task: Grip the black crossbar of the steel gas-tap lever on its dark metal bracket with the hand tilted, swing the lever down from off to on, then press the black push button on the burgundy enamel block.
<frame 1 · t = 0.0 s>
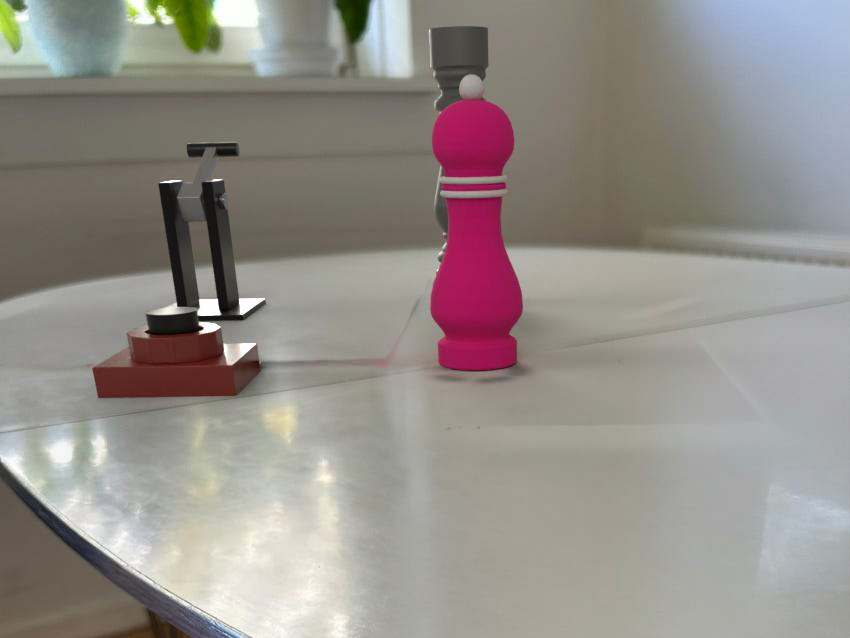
igniter block: (182, 384, 75), on the table
tap lever: (203, 177, 97), point 13 cm above the table, hinge at 25.0°
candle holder: (466, 305, 106), on the table
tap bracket: (211, 322, 99), on the table
pepper mill: (477, 365, 79), on the table
black push button: (173, 323, 73), point 4 cm above the table, slide at 0.1 cm
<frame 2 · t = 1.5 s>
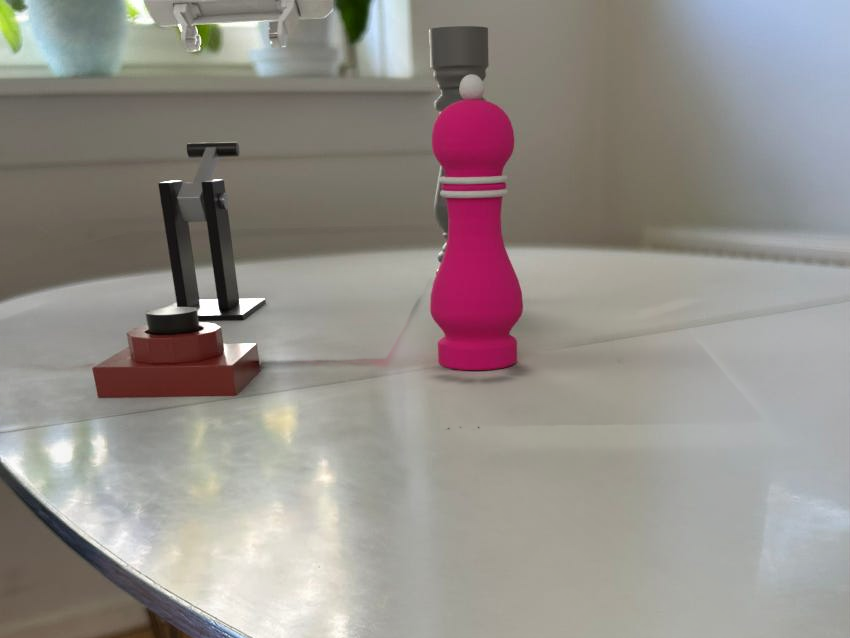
hand: (233, 44, 105), 25 cm above the table, tool tilted 45°, fingers open, 8 cm apart
nothing on the table moved.
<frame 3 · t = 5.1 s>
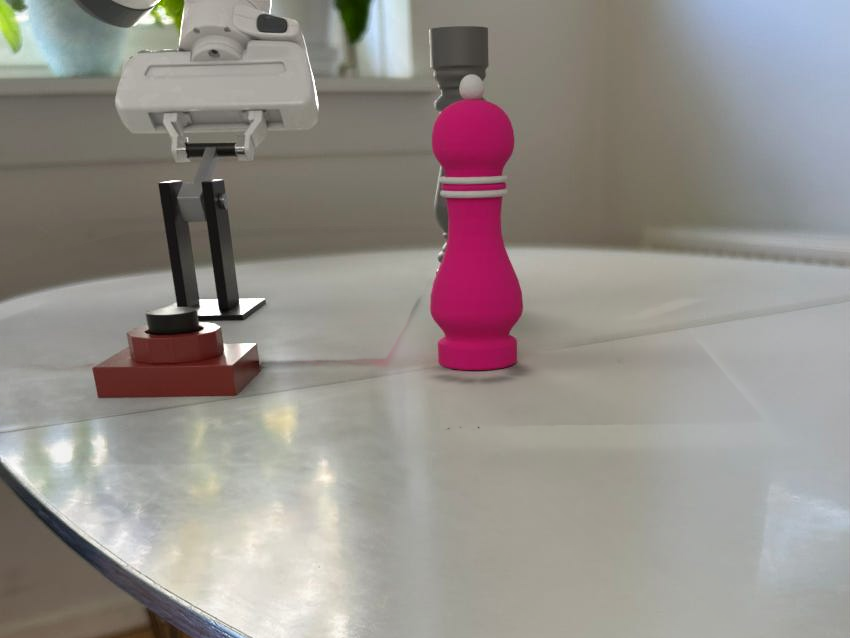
hand: (212, 156, 100), 15 cm above the table, tool tilted 45°, fingers closed on tap lever, 5 cm apart
tap lever: (203, 177, 97), point 13 cm above the table, hinge at 25.0°, touching gripper
everything else where it was.
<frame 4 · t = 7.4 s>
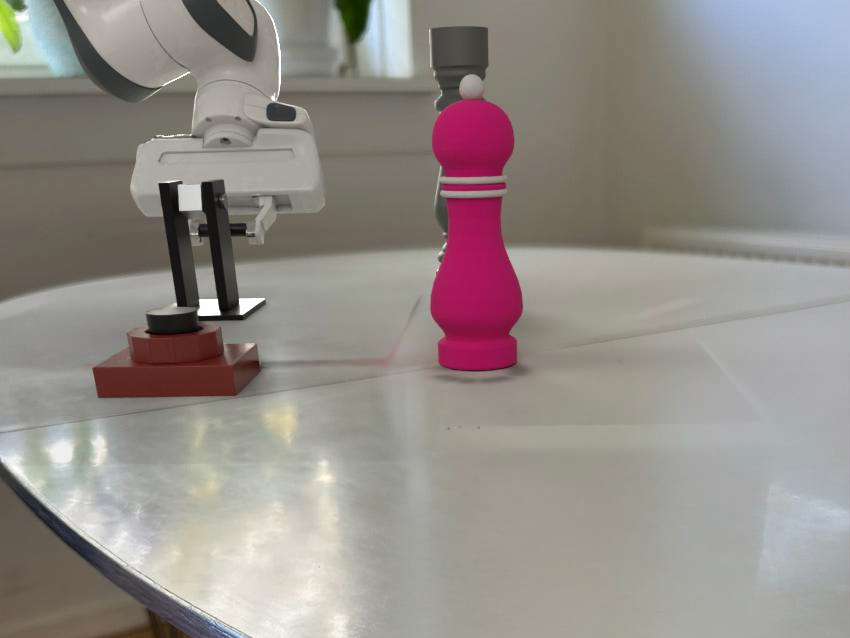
hand: (224, 241, 103), 7 cm above the table, tool tilted 45°, fingers closed on tap lever, 5 cm apart
tap lever: (209, 215, 98), point 9 cm above the table, hinge at -19.2°, touching gripper
everything else where it was.
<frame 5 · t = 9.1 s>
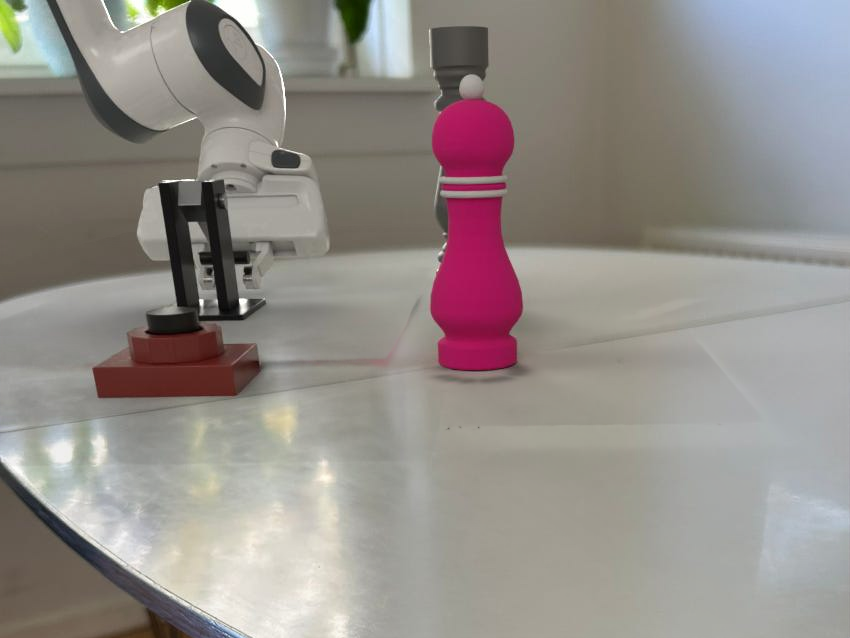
hand: (229, 286, 105), 2 cm above the table, tool tilted 45°, fingers open, 3 cm apart
tap lever: (209, 229, 98), point 8 cm above the table, hinge at -35.8°
everything else where it was.
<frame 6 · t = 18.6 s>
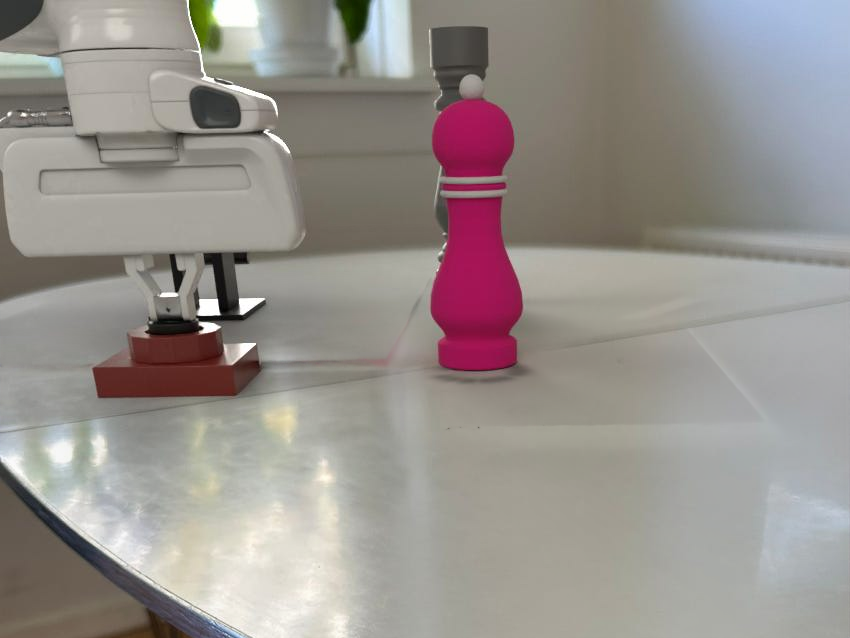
hand: (174, 320, 72), 5 cm above the table, tool pointing down, fingers closed, pressing on black push button
black push button: (174, 333, 73), point 4 cm above the table, slide at -0.6 cm, touching gripper
everything else where it was.
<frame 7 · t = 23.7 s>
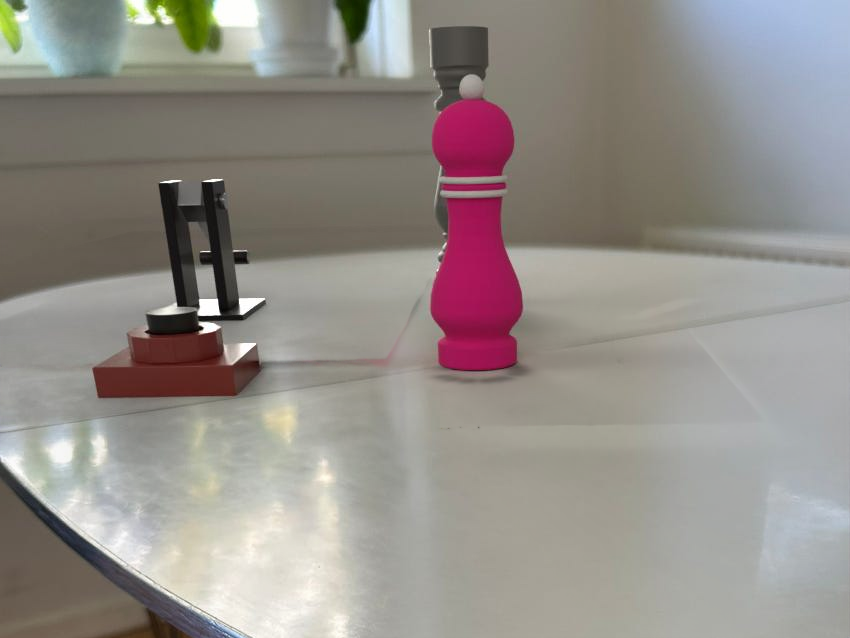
black push button: (173, 323, 73), point 4 cm above the table, slide at 0.1 cm
everything else where it was.
at the end: tap lever at -36° (first picture: +25°); black push button pushed in 1.1 cm at the most during the clip, back to where it started at the end; black push button slide at 0.1 cm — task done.
